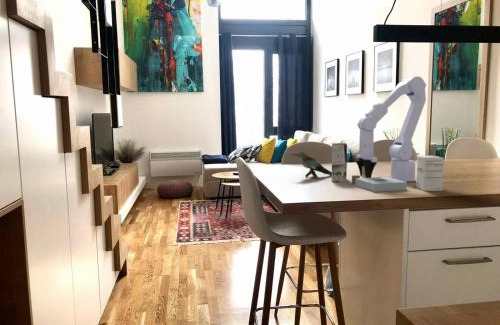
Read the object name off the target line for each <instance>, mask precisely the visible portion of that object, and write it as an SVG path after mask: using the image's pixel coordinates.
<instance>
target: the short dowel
mask: <svg viewBox="0 0 500 325" xmlns="http://www.w3.org/2000/svg"><path fill="white" fill-rule="evenodd" d="M356 178H361V176H360V174H359V175H358V174H356V175H351V185H353V184H355V180H356Z"/></svg>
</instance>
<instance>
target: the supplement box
mask: <svg viewBox="0 0 500 325" xmlns="http://www.w3.org/2000/svg"><path fill="white" fill-rule="evenodd" d="M444 160H445V158H444V157H442V156H437V155H417V162H416V186H415V188H418V189H419V190H421V191H425V192H438V191H439V192H442V191H443V184H444V183H443V181H444V164H445V163H444V162H445V161H444Z"/></svg>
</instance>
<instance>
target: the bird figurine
mask: <svg viewBox="0 0 500 325" xmlns="http://www.w3.org/2000/svg"><path fill="white" fill-rule="evenodd" d="M291 156H296V157H297V158H298V159H299V162H300V164H301V165H302V166H303V167H304V168H306V169H309V171H308V172H307V173H306V174H305V178H308V177H309V176H310V175H312V177H313V179H315V180H317V179H319V177H318V174H317V173H316V172H318V173H321V174H323V175H328V176H330V177H332V171H331V170H329V169H327V168H325V167H324V166H323V165H322V164H321V163H320V162H318V161H317V159H316V158H315V157H312V156H311V155H308V154H307V153H306V152H304V151H302V150H300V151H296V153H292V154H291Z"/></svg>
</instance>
